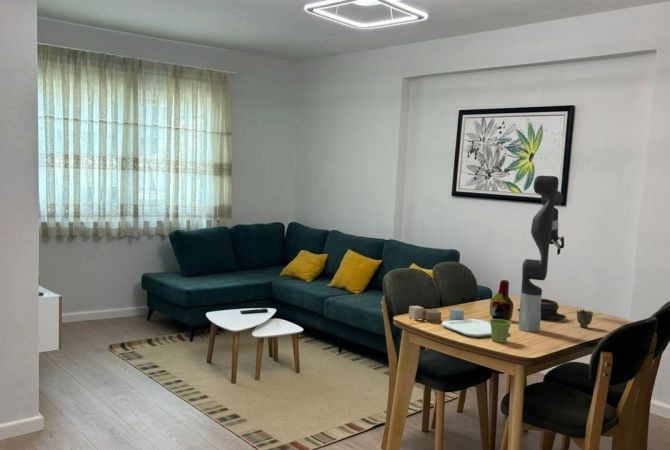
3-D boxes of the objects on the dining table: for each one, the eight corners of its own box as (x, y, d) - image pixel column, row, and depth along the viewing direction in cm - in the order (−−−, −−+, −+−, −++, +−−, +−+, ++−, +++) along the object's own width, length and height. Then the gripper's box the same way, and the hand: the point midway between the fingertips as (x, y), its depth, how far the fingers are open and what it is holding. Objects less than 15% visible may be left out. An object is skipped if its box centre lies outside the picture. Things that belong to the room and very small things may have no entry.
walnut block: (440, 322, 292) (441, 312, 291) (427, 322, 290) (427, 312, 290) (435, 319, 298) (436, 309, 298) (421, 319, 297) (422, 309, 297)
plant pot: (484, 341, 261) (486, 321, 261) (491, 336, 269) (493, 317, 269) (506, 345, 256) (507, 325, 256) (512, 341, 264) (514, 321, 263)
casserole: (572, 319, 314) (573, 303, 314) (555, 324, 301) (557, 307, 301) (527, 310, 332) (528, 294, 331) (510, 314, 319) (511, 298, 318)
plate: (436, 326, 285) (436, 321, 285) (477, 322, 296) (477, 318, 296) (470, 340, 263) (471, 335, 263) (513, 335, 274) (514, 331, 274)
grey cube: (463, 323, 293) (464, 310, 292) (453, 323, 292) (454, 310, 291) (459, 320, 298) (459, 308, 297) (449, 320, 297) (450, 308, 296)
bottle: (514, 320, 303) (517, 281, 302) (508, 322, 299) (511, 282, 297) (493, 316, 312) (496, 277, 310) (486, 317, 307) (489, 278, 305)
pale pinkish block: (423, 320, 295) (423, 307, 294) (414, 320, 292) (415, 308, 292) (417, 317, 299) (417, 305, 298) (408, 318, 297) (409, 306, 296)
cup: (583, 325, 302) (585, 309, 301) (595, 329, 295) (596, 312, 295) (572, 325, 299) (573, 309, 299) (583, 329, 292) (584, 313, 292)
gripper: (536, 228, 328) (535, 255, 334) (563, 230, 322) (562, 257, 328) (538, 222, 334) (537, 249, 341) (565, 224, 328) (564, 251, 334)
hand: (549, 253), depth 334 cm, fingers open, 8 cm apart
